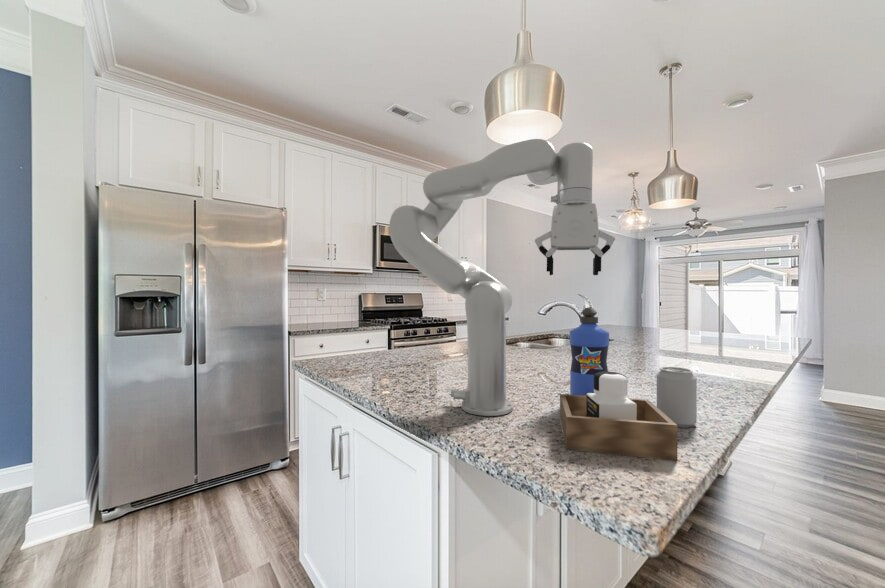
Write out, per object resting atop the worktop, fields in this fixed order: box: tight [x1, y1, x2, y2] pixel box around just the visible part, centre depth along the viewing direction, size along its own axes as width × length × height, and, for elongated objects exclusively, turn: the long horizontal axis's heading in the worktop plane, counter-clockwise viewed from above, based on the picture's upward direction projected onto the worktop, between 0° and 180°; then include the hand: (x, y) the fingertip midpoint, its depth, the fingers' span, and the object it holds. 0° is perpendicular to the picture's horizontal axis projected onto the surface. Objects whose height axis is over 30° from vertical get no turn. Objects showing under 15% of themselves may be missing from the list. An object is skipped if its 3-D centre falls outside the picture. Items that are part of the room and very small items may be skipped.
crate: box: [559, 393, 678, 461], centre depth 73 cm, size 18×16×6 cm
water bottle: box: [569, 307, 610, 396], centre depth 93 cm, size 9×9×25 cm
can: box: [656, 366, 698, 428], centre depth 82 cm, size 8×8×12 cm
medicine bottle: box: [586, 371, 637, 420], centre depth 73 cm, size 7×7×12 cm
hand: (573, 274), depth 84 cm, fingers open, 9 cm apart
